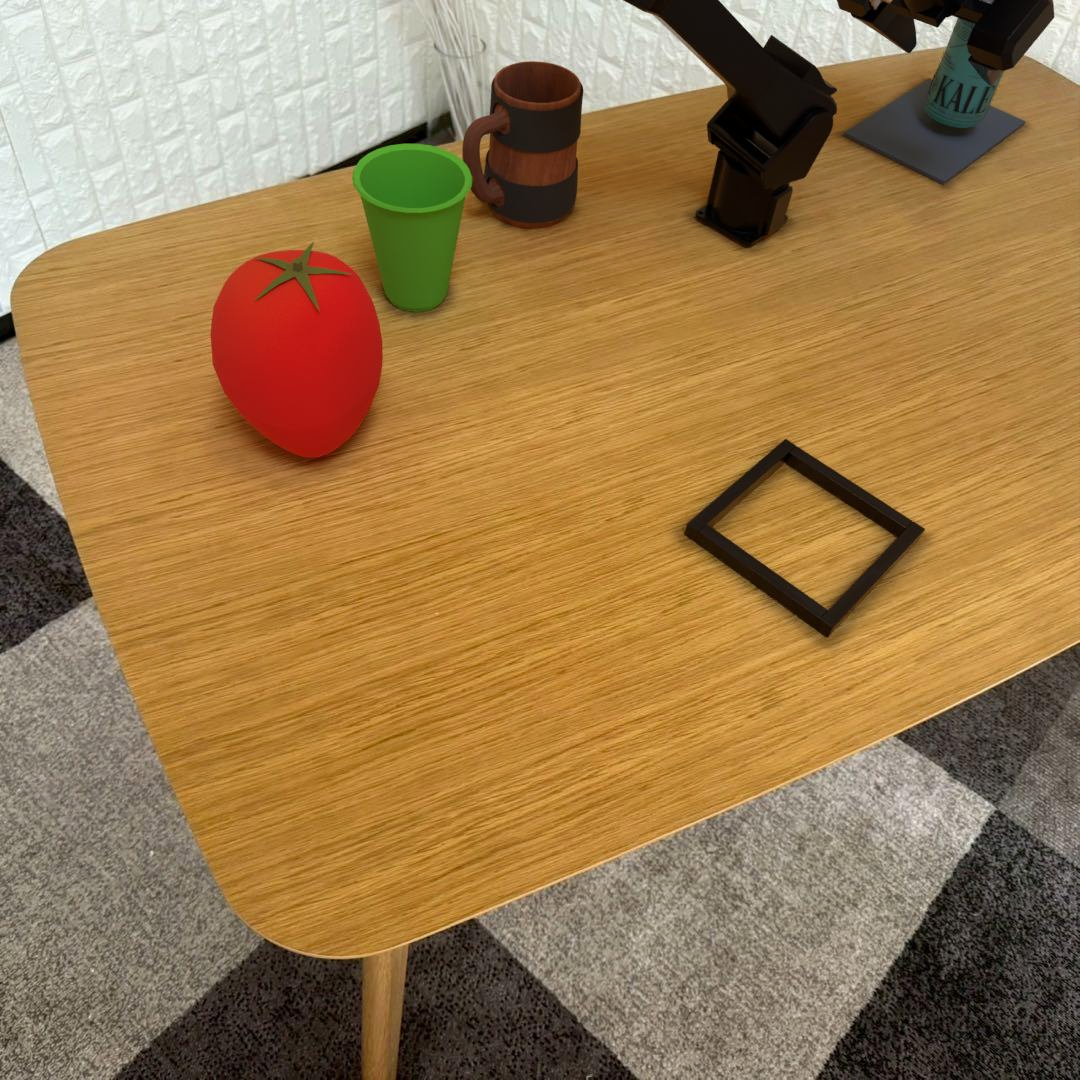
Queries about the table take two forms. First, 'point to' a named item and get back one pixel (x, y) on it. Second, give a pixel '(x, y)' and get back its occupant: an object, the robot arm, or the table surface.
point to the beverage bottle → (959, 84)
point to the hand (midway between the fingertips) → (951, 64)
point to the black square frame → (771, 581)
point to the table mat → (930, 136)
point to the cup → (413, 218)
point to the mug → (528, 144)
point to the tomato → (298, 348)
